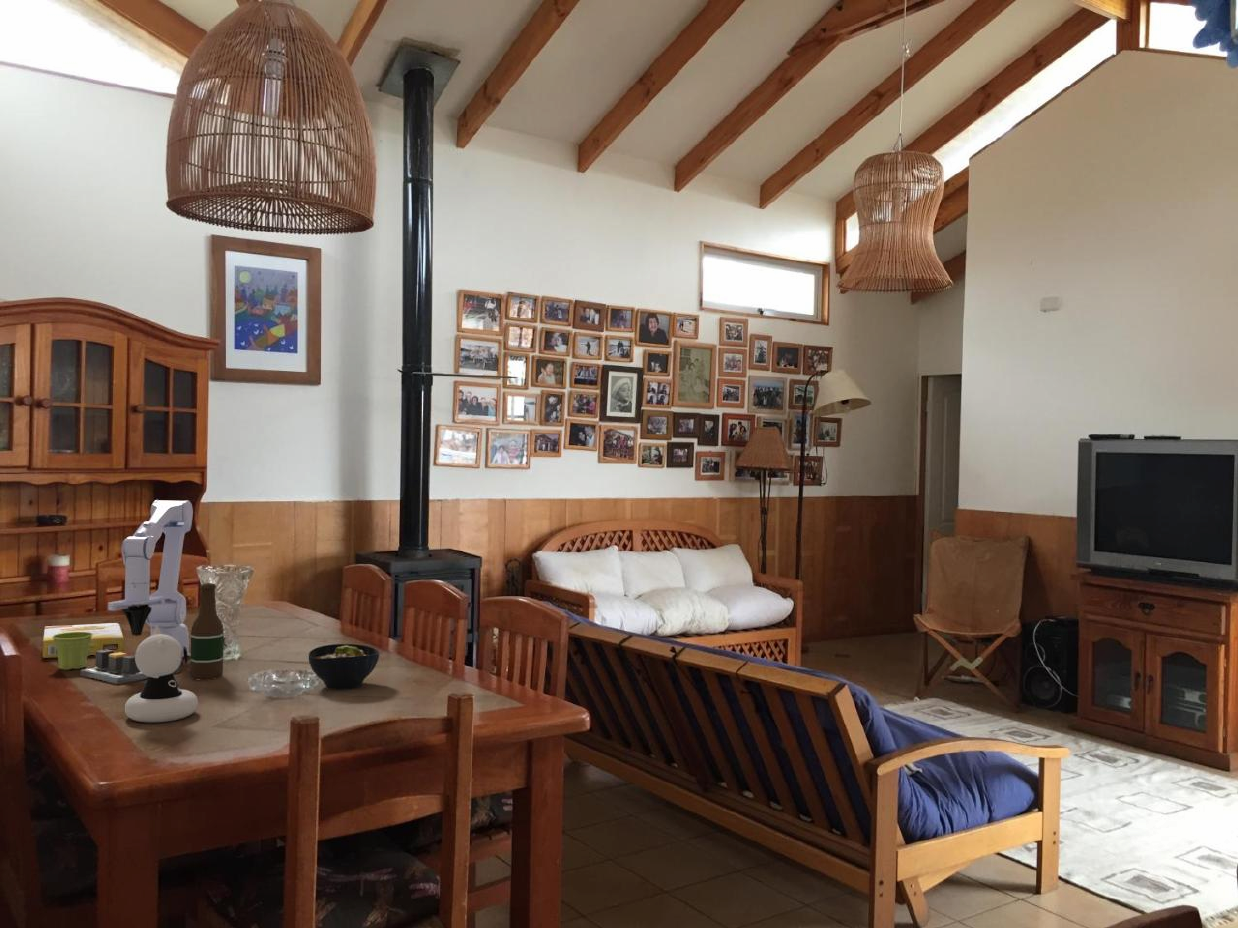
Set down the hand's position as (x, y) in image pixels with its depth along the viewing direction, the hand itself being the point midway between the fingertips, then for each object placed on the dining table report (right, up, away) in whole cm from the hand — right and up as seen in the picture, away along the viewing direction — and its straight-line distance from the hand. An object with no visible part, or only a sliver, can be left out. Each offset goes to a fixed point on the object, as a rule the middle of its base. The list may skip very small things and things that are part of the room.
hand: (136, 634), depth 258 cm
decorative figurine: (+25, -11, -41) cm, 49 cm away
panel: (-1, -10, -1) cm, 10 cm away
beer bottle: (+19, -11, -3) cm, 22 cm away
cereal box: (-31, -10, +31) cm, 45 cm away
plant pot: (-19, -10, +5) cm, 22 cm away
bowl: (+56, -11, -9) cm, 58 cm away
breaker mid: (-3, -8, -4) cm, 10 cm away
